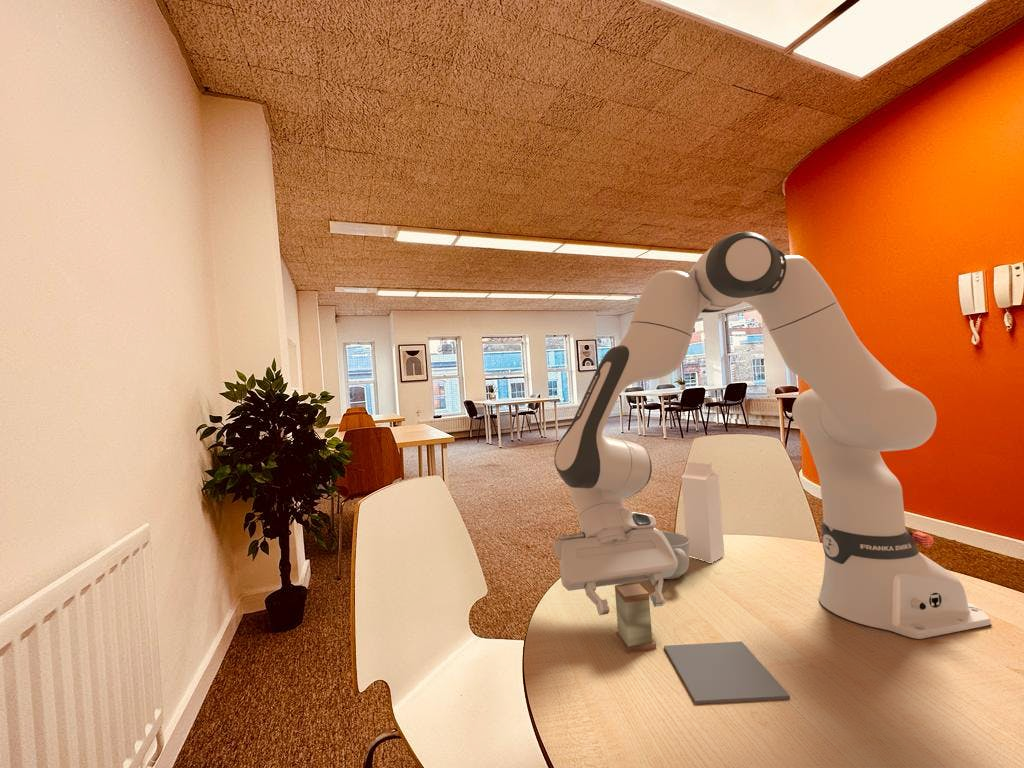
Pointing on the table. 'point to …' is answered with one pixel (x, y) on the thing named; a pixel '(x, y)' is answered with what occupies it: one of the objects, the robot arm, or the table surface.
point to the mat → (723, 673)
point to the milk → (702, 512)
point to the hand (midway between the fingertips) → (632, 609)
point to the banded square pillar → (633, 618)
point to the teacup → (678, 552)
